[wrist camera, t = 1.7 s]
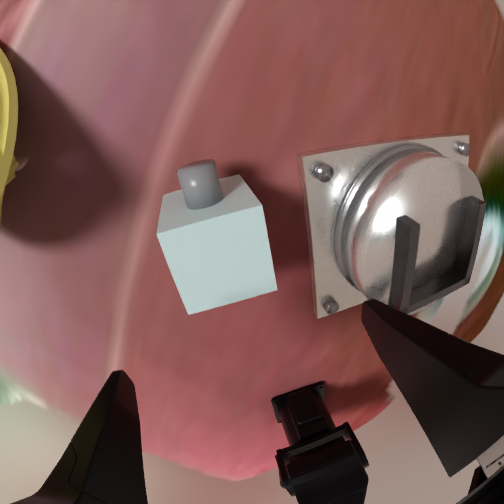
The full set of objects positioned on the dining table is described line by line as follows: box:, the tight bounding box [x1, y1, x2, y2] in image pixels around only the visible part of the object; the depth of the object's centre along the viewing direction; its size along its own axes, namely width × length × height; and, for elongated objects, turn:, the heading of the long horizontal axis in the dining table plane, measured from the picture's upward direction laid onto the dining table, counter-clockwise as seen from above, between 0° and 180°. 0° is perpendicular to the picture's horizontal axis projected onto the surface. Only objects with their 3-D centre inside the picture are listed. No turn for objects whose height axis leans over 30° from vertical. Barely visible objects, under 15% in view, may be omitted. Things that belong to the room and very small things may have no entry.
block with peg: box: [157, 160, 277, 315], centre depth 17 cm, size 7×5×6 cm
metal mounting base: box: [297, 133, 486, 319], centre depth 20 cm, size 14×17×6 cm
